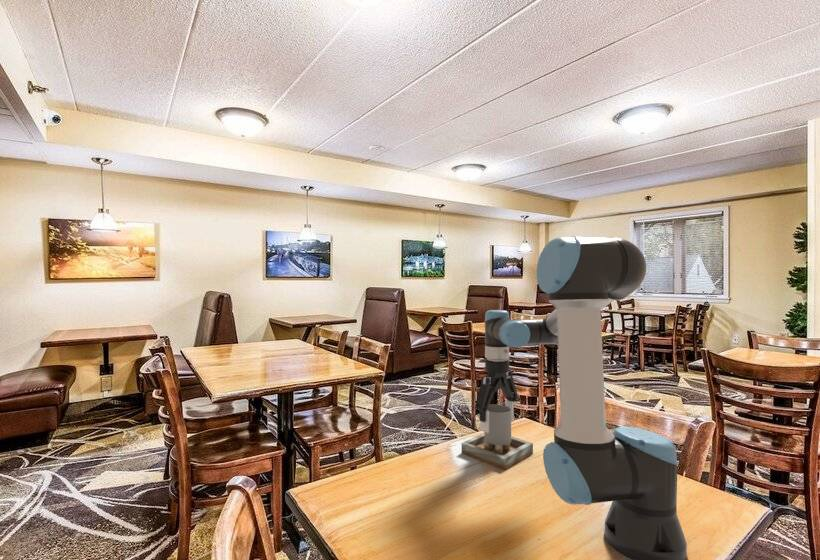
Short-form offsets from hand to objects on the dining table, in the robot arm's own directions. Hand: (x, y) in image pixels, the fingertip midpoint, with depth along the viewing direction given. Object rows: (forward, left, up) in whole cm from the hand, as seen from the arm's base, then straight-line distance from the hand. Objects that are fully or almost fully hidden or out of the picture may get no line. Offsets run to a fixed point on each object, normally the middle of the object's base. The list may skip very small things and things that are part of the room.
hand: (497, 426), depth 132 cm
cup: (0, 0, -5) cm, 5 cm away
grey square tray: (0, 0, -9) cm, 9 cm away
